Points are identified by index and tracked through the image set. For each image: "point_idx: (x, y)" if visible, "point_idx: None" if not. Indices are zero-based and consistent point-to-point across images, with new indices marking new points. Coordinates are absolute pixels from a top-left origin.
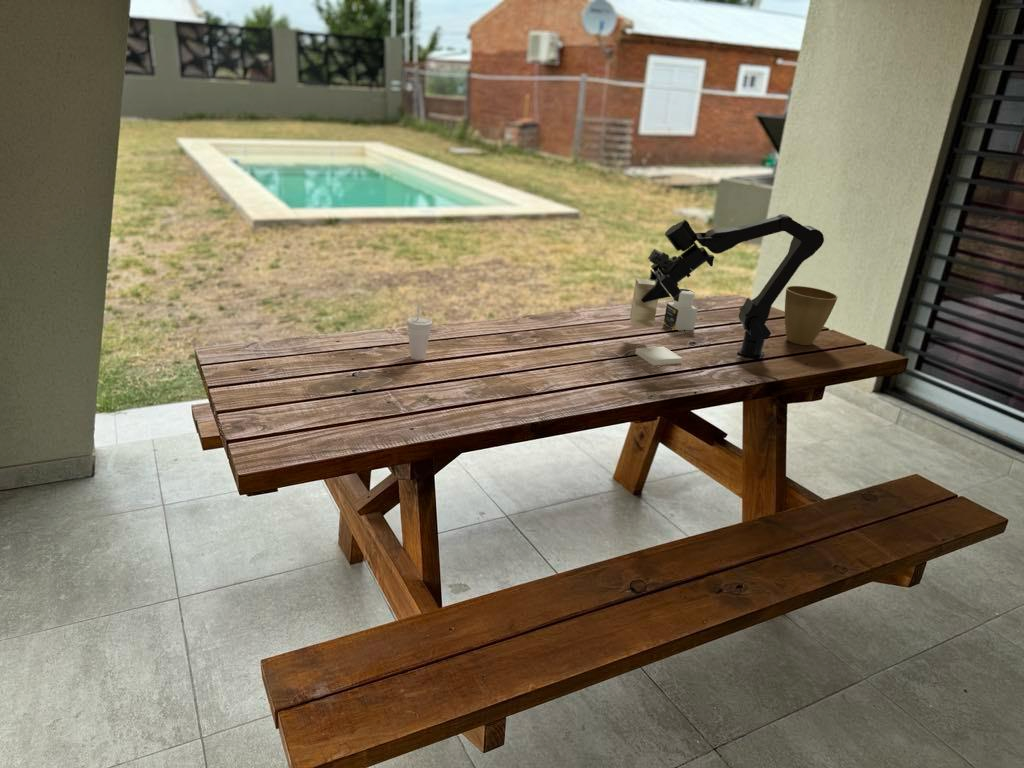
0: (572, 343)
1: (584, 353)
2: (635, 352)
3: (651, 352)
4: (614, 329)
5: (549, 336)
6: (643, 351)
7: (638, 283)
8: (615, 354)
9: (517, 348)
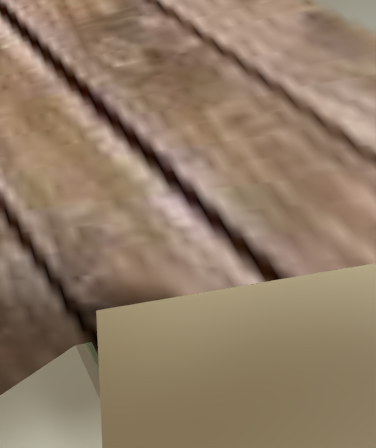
0: (140, 144)
1: (66, 185)
2: (81, 344)
3: (43, 414)
4: (369, 251)
5: (174, 83)
6: (45, 377)
7: (142, 304)
8: (86, 274)
9: (54, 45)
